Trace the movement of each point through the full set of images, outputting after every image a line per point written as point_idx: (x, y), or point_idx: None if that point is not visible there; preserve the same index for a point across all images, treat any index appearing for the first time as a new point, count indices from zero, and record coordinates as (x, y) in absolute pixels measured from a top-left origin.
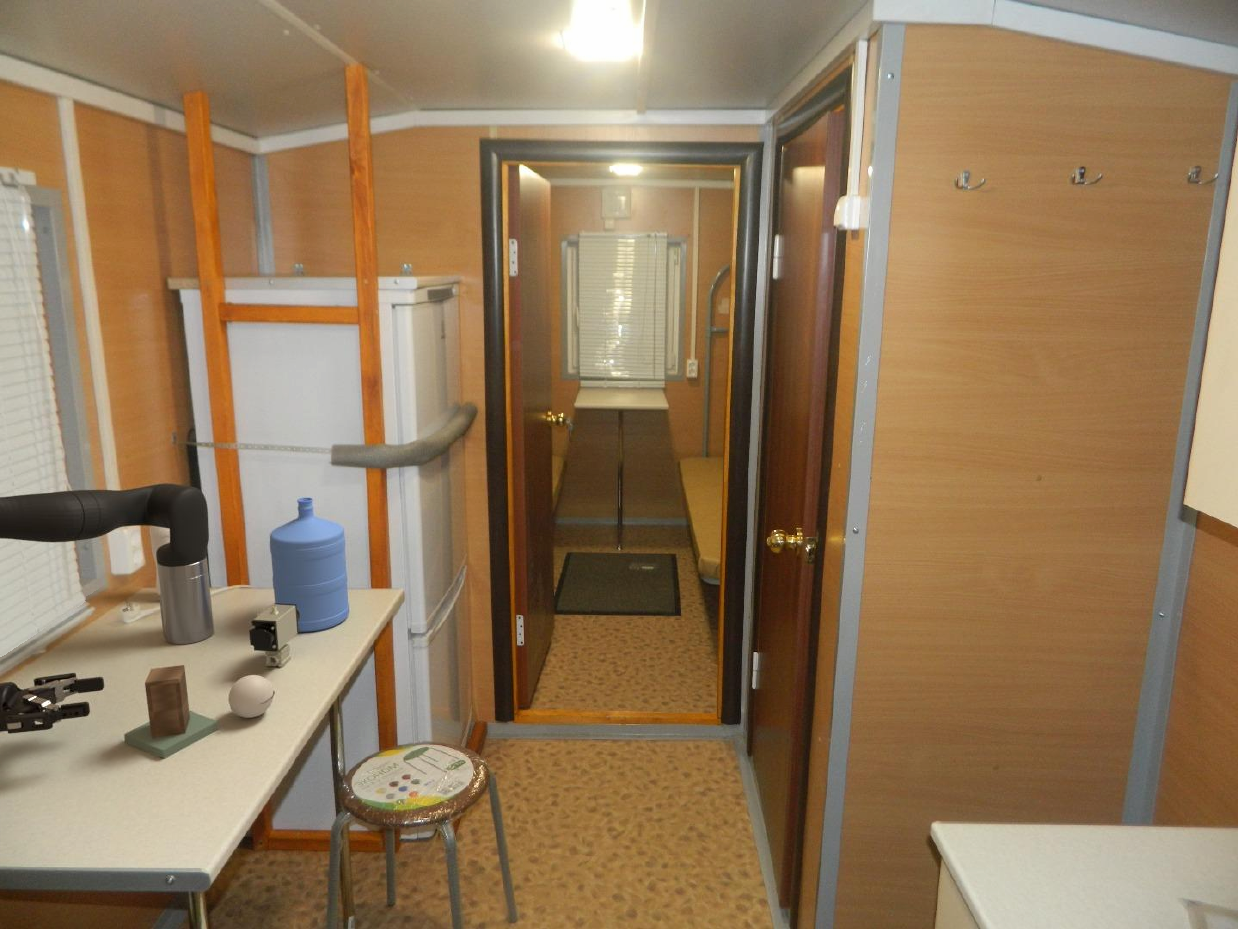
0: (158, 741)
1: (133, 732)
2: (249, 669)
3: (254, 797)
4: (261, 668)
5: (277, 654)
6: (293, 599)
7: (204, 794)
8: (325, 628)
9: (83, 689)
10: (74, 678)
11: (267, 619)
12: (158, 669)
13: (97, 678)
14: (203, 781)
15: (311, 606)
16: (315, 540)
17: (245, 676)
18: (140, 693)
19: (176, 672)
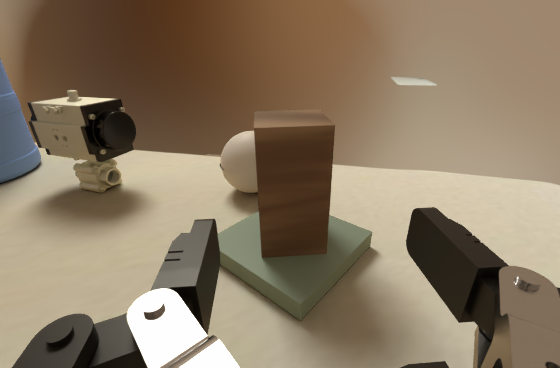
0: (341, 242)
1: (295, 287)
2: (90, 206)
3: (438, 173)
4: (102, 197)
5: (113, 164)
6: None
7: (449, 199)
8: (38, 163)
9: (207, 304)
10: (149, 301)
11: (98, 101)
12: (262, 122)
13: (208, 223)
14: (421, 203)
15: (15, 131)
16: None
17: (241, 135)
18: (4, 359)
19: (289, 112)
